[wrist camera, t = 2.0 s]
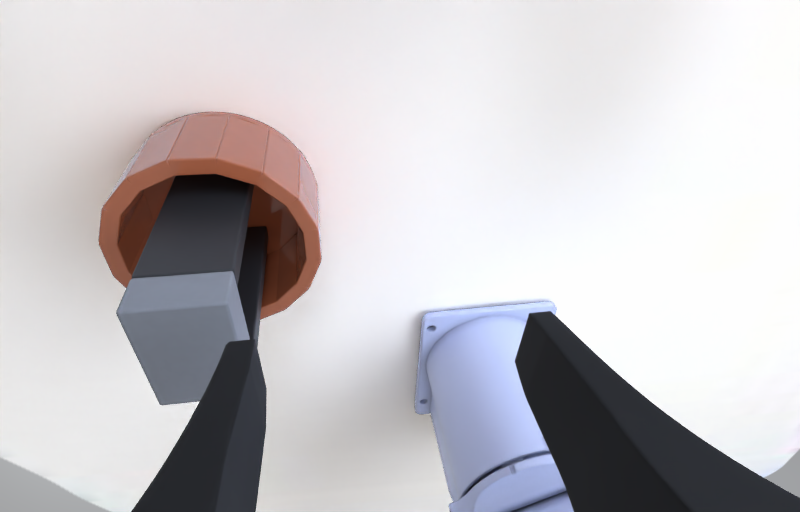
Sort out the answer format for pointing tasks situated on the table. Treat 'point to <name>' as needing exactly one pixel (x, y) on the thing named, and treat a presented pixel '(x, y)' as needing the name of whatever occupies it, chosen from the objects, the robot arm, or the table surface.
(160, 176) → the holder
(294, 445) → the table surface
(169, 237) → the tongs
